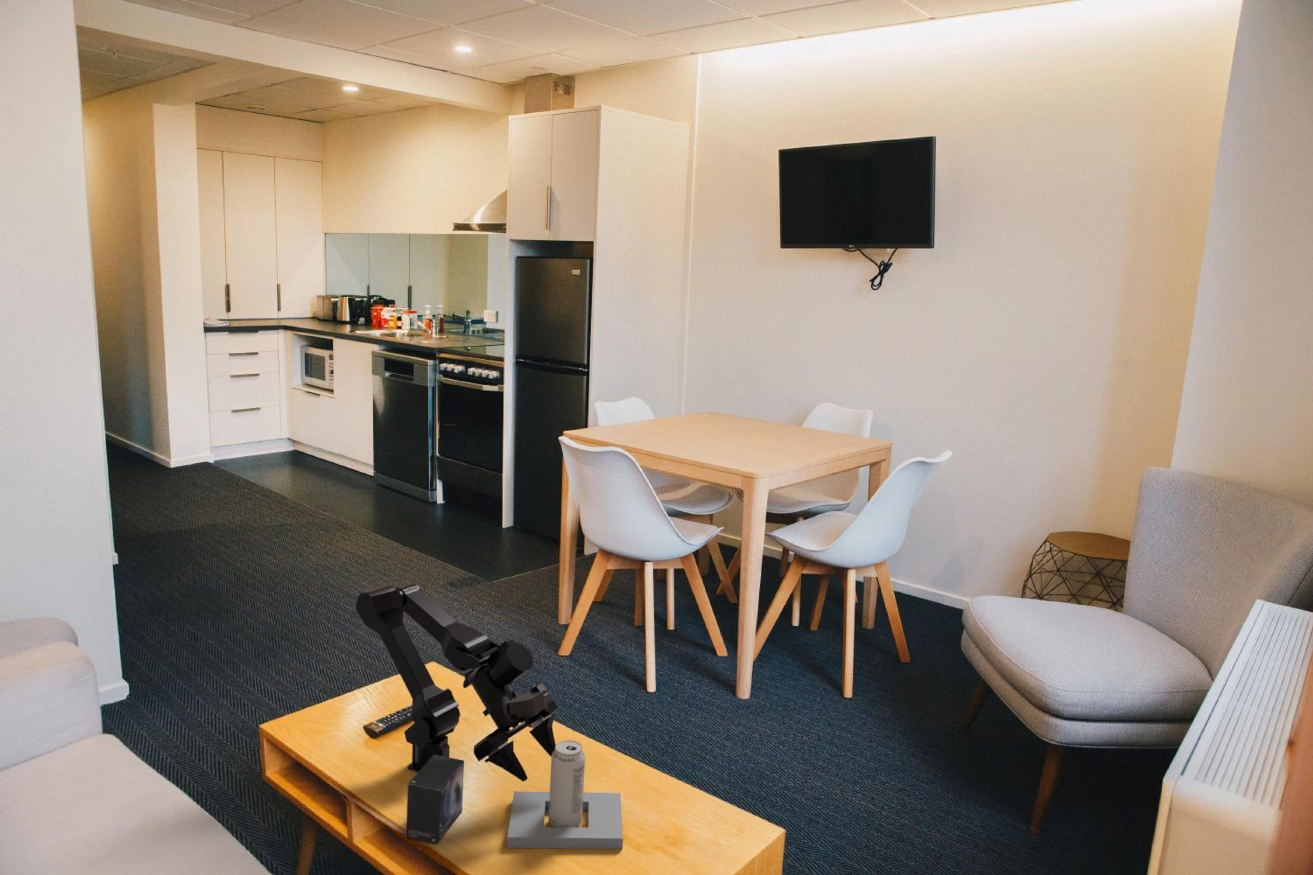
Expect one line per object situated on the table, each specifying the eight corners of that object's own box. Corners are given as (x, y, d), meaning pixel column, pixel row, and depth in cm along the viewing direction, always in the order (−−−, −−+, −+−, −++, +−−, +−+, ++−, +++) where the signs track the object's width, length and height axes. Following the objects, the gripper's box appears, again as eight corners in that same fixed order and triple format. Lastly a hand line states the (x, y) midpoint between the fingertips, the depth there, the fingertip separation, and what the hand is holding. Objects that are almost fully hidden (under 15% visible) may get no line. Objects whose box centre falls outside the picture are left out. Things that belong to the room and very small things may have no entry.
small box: (439, 845, 150) (440, 790, 149) (404, 839, 152) (405, 783, 150) (464, 811, 161) (466, 758, 159) (431, 805, 162) (432, 752, 160)
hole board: (506, 847, 151) (507, 837, 151) (513, 800, 165) (514, 791, 164) (622, 848, 153) (623, 838, 152) (619, 802, 166) (620, 792, 166)
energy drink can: (557, 810, 162) (560, 735, 160) (586, 818, 161) (591, 742, 158) (542, 828, 157) (546, 751, 154) (573, 837, 155) (577, 758, 152)
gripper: (488, 693, 152) (536, 772, 148) (552, 658, 168) (597, 729, 164) (453, 722, 157) (498, 799, 153) (518, 685, 173) (561, 754, 169)
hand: (541, 768), depth 160 cm, fingers open, 9 cm apart
